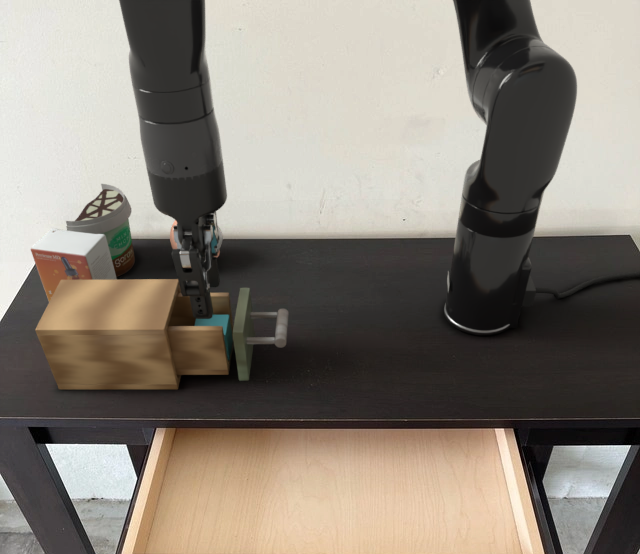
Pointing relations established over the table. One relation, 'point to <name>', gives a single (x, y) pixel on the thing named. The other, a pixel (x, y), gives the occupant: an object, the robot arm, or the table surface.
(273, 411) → the table surface
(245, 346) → the wooden drawer
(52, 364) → the wooden drawer cabinet
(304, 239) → the table surface
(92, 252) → the small box
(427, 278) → the table surface
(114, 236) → the food container
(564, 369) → the table surface
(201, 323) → the block
